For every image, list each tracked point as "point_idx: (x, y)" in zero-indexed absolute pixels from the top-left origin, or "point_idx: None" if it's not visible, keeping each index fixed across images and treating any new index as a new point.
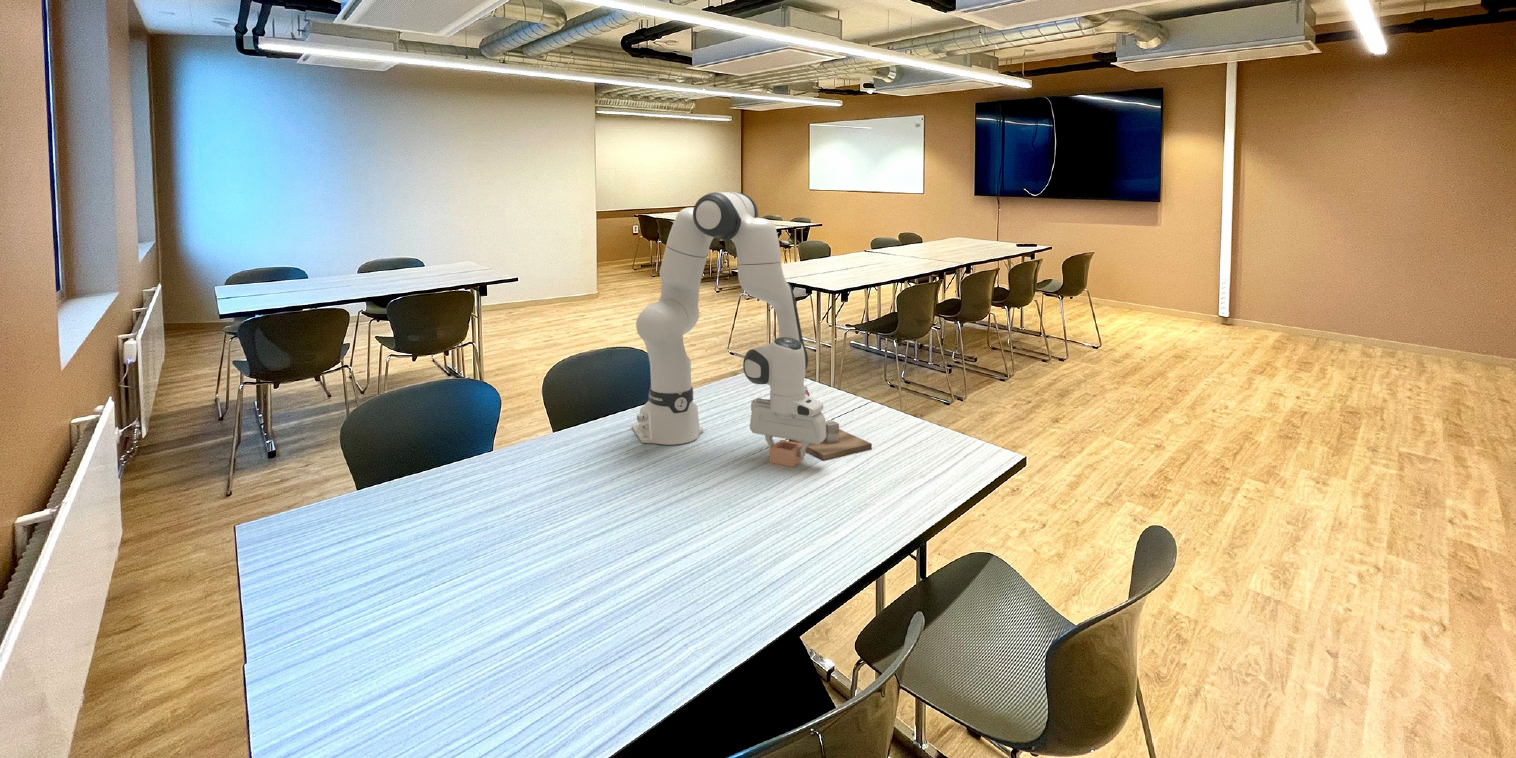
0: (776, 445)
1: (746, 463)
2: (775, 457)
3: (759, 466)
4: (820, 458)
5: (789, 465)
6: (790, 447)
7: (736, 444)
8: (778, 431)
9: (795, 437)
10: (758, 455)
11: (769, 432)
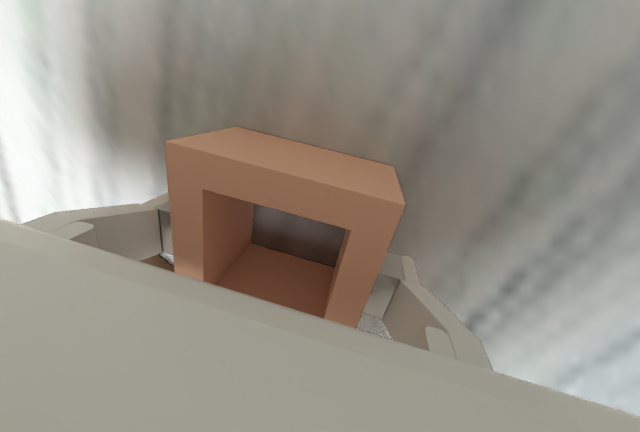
0: (350, 268)
1: (580, 106)
2: (347, 165)
3: (460, 70)
4: (163, 261)
5: (255, 133)
6: (272, 295)
7: (626, 390)
8: (274, 393)
9: (38, 260)
10: (480, 264)
11: (449, 399)
